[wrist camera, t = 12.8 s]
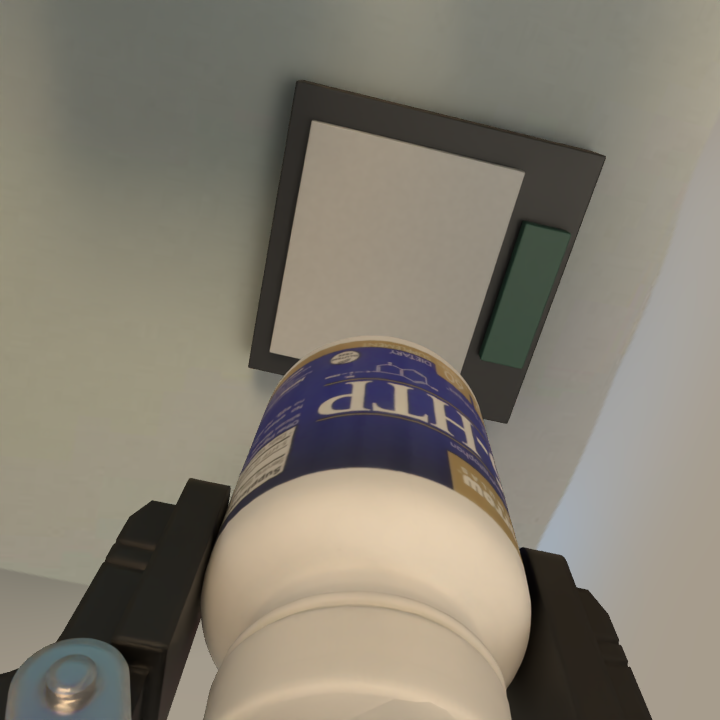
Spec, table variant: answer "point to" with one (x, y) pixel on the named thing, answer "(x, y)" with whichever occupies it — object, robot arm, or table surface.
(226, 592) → the pill bottle
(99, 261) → the table surface
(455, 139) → the scale
